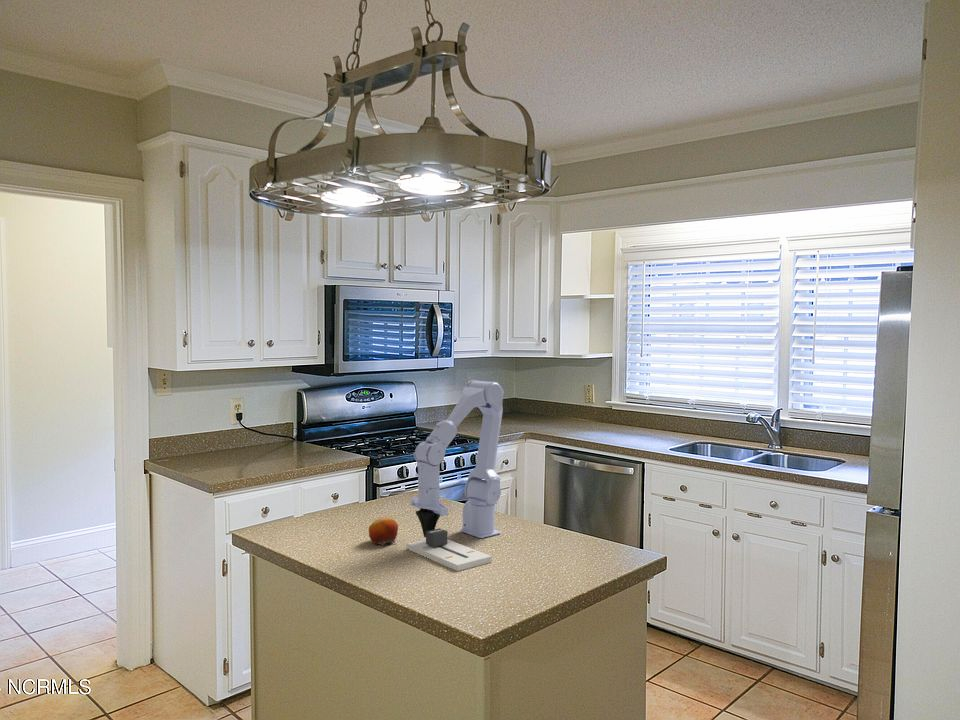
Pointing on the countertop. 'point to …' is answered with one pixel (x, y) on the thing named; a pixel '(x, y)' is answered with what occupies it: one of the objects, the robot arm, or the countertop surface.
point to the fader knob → (436, 537)
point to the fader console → (451, 554)
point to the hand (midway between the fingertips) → (428, 536)
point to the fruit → (383, 531)
